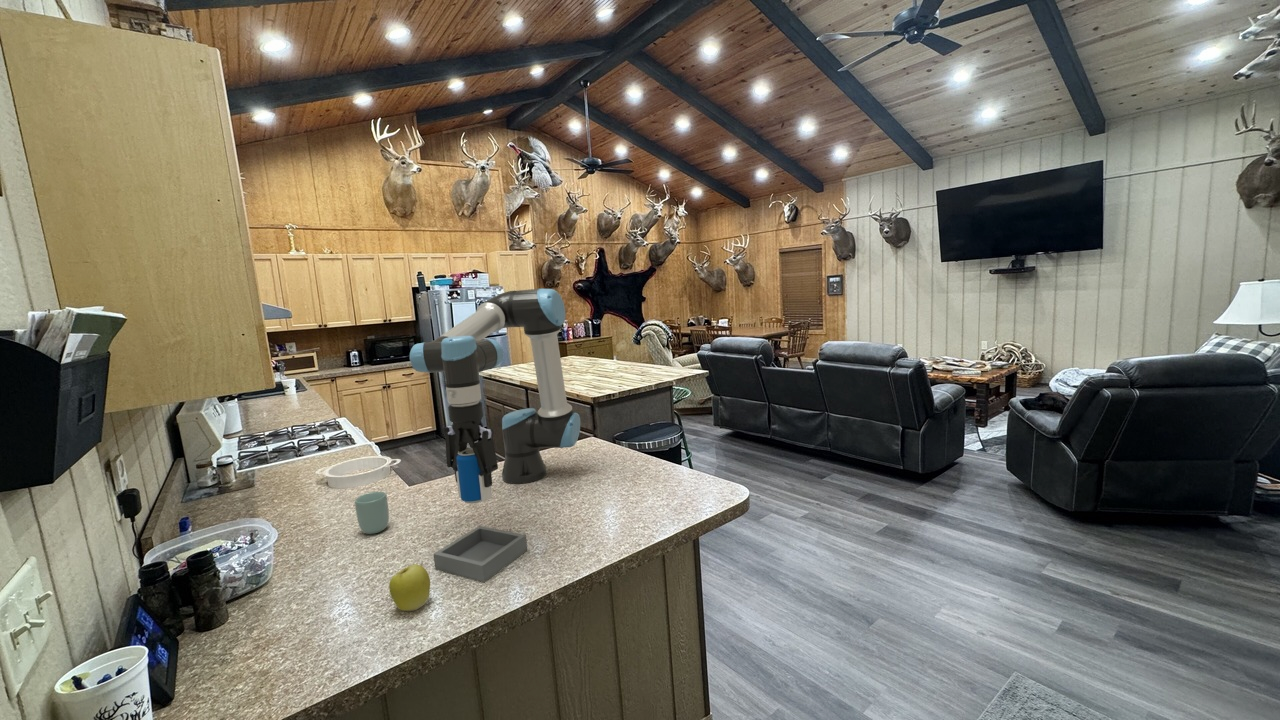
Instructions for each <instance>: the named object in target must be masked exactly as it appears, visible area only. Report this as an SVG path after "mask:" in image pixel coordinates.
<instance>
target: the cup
mask: <svg viewBox="0 0 1280 720" xmlns="http://www.w3.org/2000/svg"><path fill="white" fill-rule="evenodd" d="M354 507H355V514H356V520H357V523H358V527H359V529H360V530H361V531H362V532H363V533H364V534H367V535H374V534H378V533H381V532H383V530H385V529H386V528H387V527H388V525H389V521H390V509H389V501H388V496H387V493H386V492H385V491H371V492H367V493H364V494H362V495H359V496H357V498H355V499H354Z"/></svg>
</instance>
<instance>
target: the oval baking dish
mask: <svg viewBox="0 0 1280 720" xmlns="http://www.w3.org/2000/svg"><path fill="white" fill-rule="evenodd" d="M393 461H396V462H395V463H392V462H393ZM401 461H402V460H401V459H400V458H396V459H395V458H394V459H392V458H391V457H389V456H385V455H371V456H362V457H357V458H350V459H348V460H344V461H340V462H338V463H335V464H333V465H331V466H330V465H329V466H324V467H320V468H319V469H316V471H315V474H317V475H318V474H319V475H323V476H325V477H326V479H327V485H328V487H330V488H332V489H348V488H349V489H350V488H357V487H362V486H367V485H370V484H372V483H373V484H374V483H376V482H379V481H381V480H383V479H385V478H387V477H388V476H389V475H390V474H391V468H390V467H391V466H396V465H398V464H399V463H400V462H401ZM370 469H371V470H370ZM364 470H369V471H365V472H360V473H355V474H350V473H353V472H357V471H364ZM321 471H323V472H321ZM347 474H348V475H347Z"/></svg>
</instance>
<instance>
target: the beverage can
mask: <svg viewBox="0 0 1280 720" xmlns="http://www.w3.org/2000/svg"><path fill="white" fill-rule="evenodd" d="M463 452H466V454H462V453H463ZM456 459H457V468H458V477H459V485H460V494H461V498H460V500H461V501H462V502H464V503H466V504H468V505H469V504H470V505H471V504H477V503H481V502H482V500H481V491H480V482H479V474H480V473H481V471H480V468H479V465H478V462H477V458H476V456H475V453H474V451H473V449H472V448H471V447H470V446H469V447H467V449H465V450H464V451H461V452H459V451H458V456H457V458H456ZM485 468H486V467H485ZM482 503H483V502H482Z"/></svg>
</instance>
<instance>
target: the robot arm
mask: <svg viewBox="0 0 1280 720" xmlns="http://www.w3.org/2000/svg"><path fill="white" fill-rule="evenodd" d="M565 307H566V306H565V304H564V300H563V298H562V296H561V295H560V293H559V292H558V291H557V290H555V289H554V288H542V287H541V288H532V289H520V290H509V291H505V292H502V293H500V294H497V295H495V296H493V297H491V298H489V299H487V300H486V301H484V302H482V303H480V305H478V306H477V308H476V311H474V313H473V314H471V315H470V316H468V317H466V318H465V319H464V320H462V321H460V322H459V323H457V324H456V325H455V326H453V327H452V328H450V329H449V330H447V331H445V332H444V333H443V334H442V335H440V336H439V337H437V338H436V339H434V340H432V341H430V342H425V341H423V342H421V343H416V344H414V345H413V346H412V347H411V349H410V352H409V361H410V365H411V367H412V368H413V370H415V371H417V372H418V373H429V374H430V373H444V380H445V390H446V391H445V392H446V399H447V403H448V404H449V406H448V408H447V410H448V419H449V421H450V422H451V423H452V424H451V425H449V426H448V425H447V426H445V427H444V428H443V429H442V431H443V435H444V437H445V438H444V440H445V454H446V456H445V458H446V466H447V468H451V469H452V470H453V472H454V477H455V483H456V484H457V492H458V499H459V498H460V499H461V494H460V485H459V477H458V468H457V459H456V458H457V456H458V451H459V452H461V451H464V450H465V449H467V448H468V446H469V448H470V447H471V448H472V449H473V451H474V453H475V456H476V458H477V462H478V465H479V468H480V471H481V473H480V474H479V482H480V491H481V500H482V503H484V502H487V501H488V500H490V499H492V498H493V493H492V486H493V476H492V472H494V471H496V470H498V468H499V466H498V460H497V454H496V453H497V452H496V447H495V442H494V441H495V440H494V432H495V431H494V429H493V428H489V429H488V428H485V427H484V425H483V421H482V419H483V416H484V409H483V402H481V400H482V391H481V383H480V373H481V372H485V371H488V370H492V369H494V368H496V367H497V366H499V365H500V364H501V363H502V361H503V359H504V349H503V346H502V345H501V344H500V343H499V342H498V341H497V340H496V339H492V338H487V337H488V336H489V335H491V333H497V332H499V331H501V330H503V329H509V328H523V332H524V335H525V336H526V337H528V338H529V339H530V344H531V345H530V346H531V351H532V357H533V363H534V370H535V375H536V384H537V387H538V394H539V395H538V396H539V403H540V408H539V409H538V410H536V408H531V407H530V408H529V407H527V408H522V409H518V410H514V411H510V412H508V413H507V414H504V416H503V417H502V419H501V424H502V425H501V426H502V427H501V429H502V436H503V438H502V439H503V444H504V445H503V446H504V455H505V459H504V462H503V467H502V471H501V479H502V481H503V482H505V483H507V484H513V485H514V484H516V485H519V484H520V485H521V484H527V483H532V482H536V481H539V480H541V479H542V478H544V477H545V476H546V475H547V473H548V472H547V466H546V464H545V463H544V460H543V458H542V454H541V452H540V448H541V449H545V448H546V449H547V448H549V449H550V448H551V449H553V448H555V449H565V448H572V447H574V446H575V445H576V444H577V441H578V439H579V436H580V431H581V416H580V414H579V413H577V412H574V411H573V410H574V409H573V406H572V405H571V404H570V403H568V401H567V395H566V394H567V393H566V389H565V388H566V387H565V380H564V374H563V365H562V359H561V353H560V345H559V338H558V334H559V333H560V331H561V330H562V325H564V324H565V321H566V308H565ZM462 454H466V452H463V453H462ZM485 467H486V468H485Z"/></svg>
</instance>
